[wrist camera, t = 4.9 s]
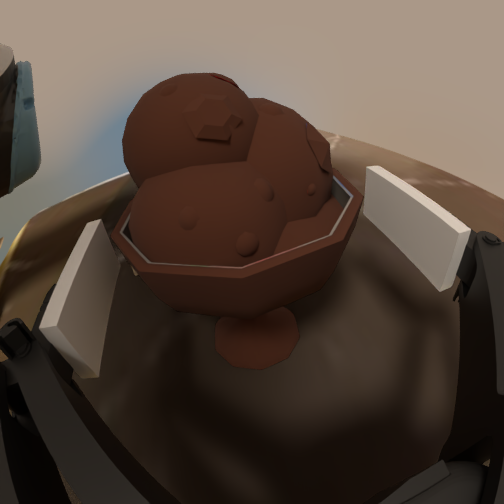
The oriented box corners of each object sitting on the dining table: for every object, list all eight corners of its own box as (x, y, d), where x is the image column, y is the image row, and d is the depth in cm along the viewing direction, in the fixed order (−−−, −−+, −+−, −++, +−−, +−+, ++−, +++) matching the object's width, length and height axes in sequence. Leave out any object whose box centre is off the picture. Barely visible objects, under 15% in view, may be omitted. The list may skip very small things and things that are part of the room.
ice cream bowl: (252, 449, 12) (126, 69, 3) (147, 330, 19) (61, 113, 10) (375, 327, 17) (408, 65, 8) (258, 259, 24) (232, 69, 16)
